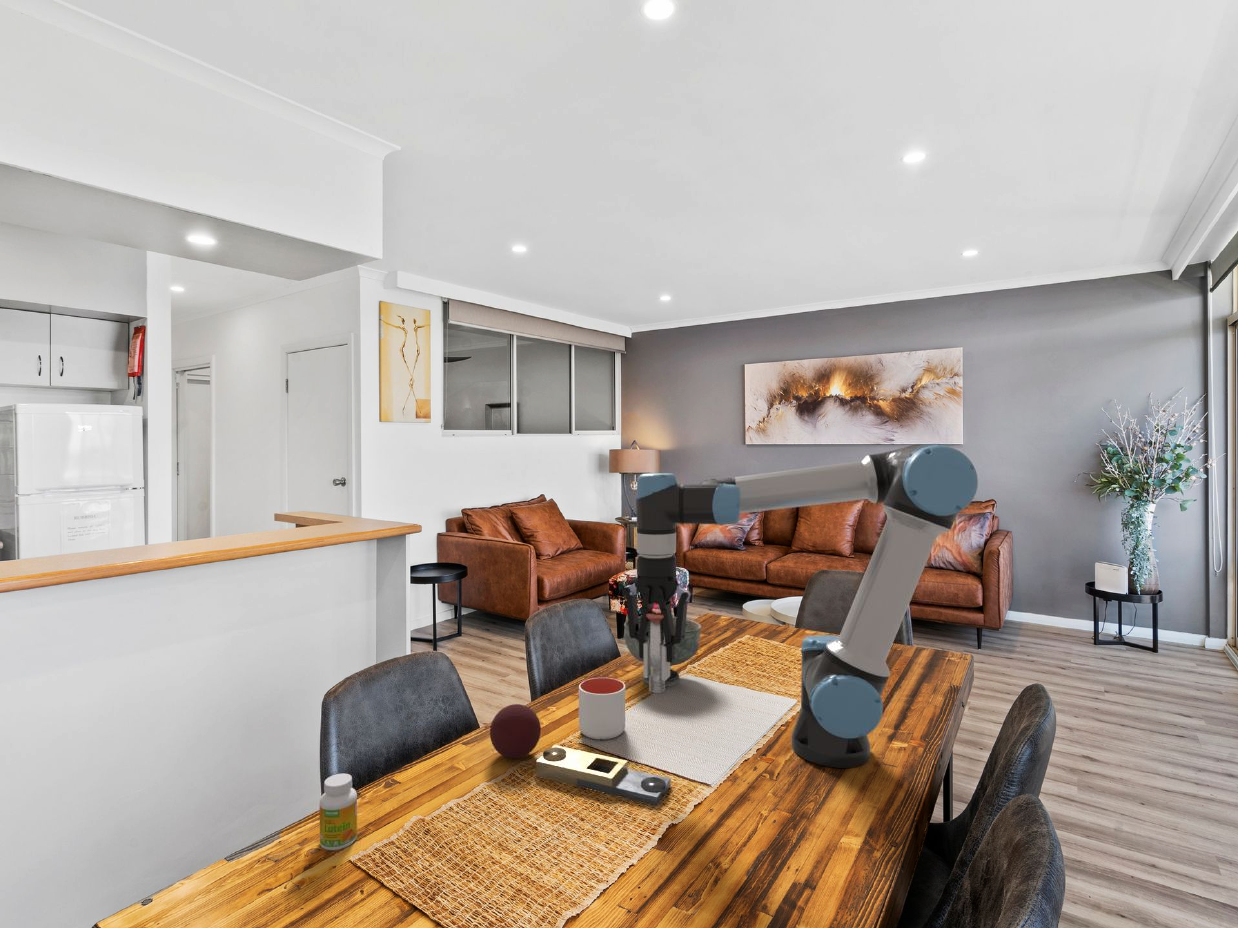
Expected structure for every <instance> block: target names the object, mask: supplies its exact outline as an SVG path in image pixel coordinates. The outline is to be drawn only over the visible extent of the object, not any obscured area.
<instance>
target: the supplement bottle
mask: <svg viewBox="0 0 1238 928" xmlns="http://www.w3.org/2000/svg"><path fill="white" fill-rule="evenodd" d="M323 790H324V793H322V795H321V796H320V799H319V843H320V846H321V848H322V849H324V850H328V851H338V850H342V849H345V848H347V847H349V846H351V845H352V844H353V843H354V842H355V841H356V839H357V838H358V795H357V791H356V789H355V788H354V787H353V777H352V775H351V774H349V773H337V774H333V775H331V776H328V777H327V778H326V779H325V780H324V783H323Z"/></svg>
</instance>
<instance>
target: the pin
mask: <svg viewBox="0 0 1238 928" xmlns="http://www.w3.org/2000/svg"><path fill="white" fill-rule="evenodd" d="M645 618H646V619H649V684H648V690H649V691H650V692H651V693H653V694H654V693H655V694H660V693H661V694H662V693H664V692H665V690H666V686H665V681H664V680H662V645H663V644H665V637H664V630H663V623H662V620H664V615H663V614H661V610H660V609H659V608H652V610H651V611H650V612H648V613H645Z"/></svg>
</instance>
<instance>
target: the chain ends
mask: <svg viewBox="0 0 1238 928" xmlns="http://www.w3.org/2000/svg"><path fill="white" fill-rule="evenodd" d="M535 764H536V765H535V777H536V778H540V779H544V780H547V779H548V781H553V782H556V783H560V784H564V783H565V785H569V786H572V785H573V787H577V788H581V787H582V788H581V789H585V788H588V789H587V790H589V789H592V790H591V791H593V790H596V791H595V792H597V791H599V792H598V793H601V792H604V793H603V794H606V795H610V794H611V795H610V796H615V797H618V798H622V799H623V798H624V799H627V800H631V801H635V802H640V803H644V804H647V805H651V806H656V807H658V805H659V803H661V801H662V799H664V798H665V797H666V795H667V792H668V791H669V789H670V788H671V778H670V777H666V776H662V775H658V774H653V773H648V772H643V771H639V770H635V769H630V768H628V760H625V759H621V758H617V757H616V758H615V757H611V756H606V755H602V754H598V753H594V752H587V751H584V750H580V749H574V748H570V747H564V746H560V745H556V744H554V745H553V746H552V747H549V748H546V749H545V750H544V751H543V752H542V756H540V757H539V758H538V759H537V760H536V761H535Z"/></svg>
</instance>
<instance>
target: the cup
mask: <svg viewBox="0 0 1238 928" xmlns="http://www.w3.org/2000/svg"><path fill="white" fill-rule="evenodd" d="M578 729H579V731H580V733H582V735H584V736H585V737H587V738H589V739H593V740H600V739H603V740H610V739H615V738H616V737H619V736H620V735H621V734H622V733H623V732H624V730H625V729H626V684H625V683H624V682H623V681H622V680H619V679H616V678H611V677H593V678H589V679H586V680H584V681H582V682H581V683H579V686H578Z"/></svg>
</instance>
